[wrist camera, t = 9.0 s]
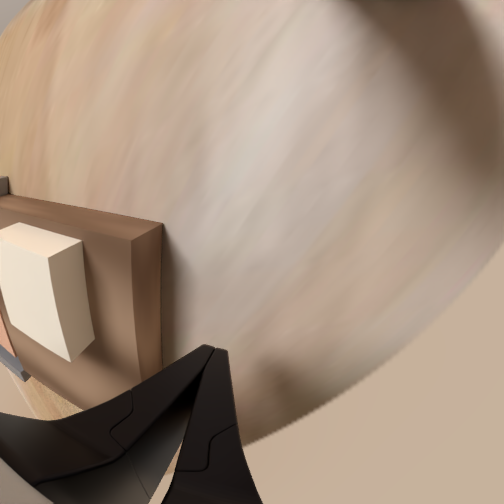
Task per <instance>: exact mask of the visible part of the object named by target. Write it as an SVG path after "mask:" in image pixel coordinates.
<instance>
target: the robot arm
mask: <svg viewBox="0 0 504 504" xmlns="http://www.w3.org/2000/svg"><path fill="white" fill-rule="evenodd" d="M237 424H238V423H237V416H236V409H235V402H234V395H233V388H232V380H231V373H230V365H229V357H228V351H227V350H225V349H221V348H215V347H213V346H210V345H206V344H203V345H201V346H200V347H198V348H197V349H195V350H193V351H192V352H190V353H189V354H187V355H185V356H184V357H182V358H181V359H179V360H177V361H176V362H174V363H173V364H171V365H169V366H168V367H166V368H164V369H163V370H161V371H159V372H158V373H156V374H154V375H153V376H151V377H149V378H148V379H146V380H144V381H143V382H141V383H139V384H138V385H136V386H134V387H132V388H131V390H130V389H129V390H127V391H125V392H124V393H122V394H120V395H118V396H116V397H114V398H112V399H110V400H108V401H106V402H104V403H102V404H99V405H97V406H95V407H92V408H90V409H87V410H84V411H82V412H79V413H77V414H74V415H71V416H68V417H66V418H62V419H58V420H51V421H46V420H38V419H32V418H26V417H20V416H15V415H10V414H5V413H1V412H0V504H148V503H149V502H150V499H151V497H152V496H153V494H154V492H155V491H156V489H157V487H158V485H159V483H160V481H161V479H162V478H163V476H164V474H165V472H166V470H167V468H168V466H169V465H170V463H171V461H172V459H173V457H174V455H175V453H176V451H177V450H178V448H179V446H180V444H181V442H182V440H183V442H182V446H181V449H180V453H179V456H178V460H177V464H176V467H175V472H174V475H173V479H172V482H171V484H170V487H169V489H168V491H167V493H166V495H165V497H164V499H163V501H162V503H161V504H263V503H262V501H261V498H260V496H259V494H258V492H257V489H256V487H255V484H254V481H253V479H252V476H251V473H250V470H249V468H248V465H247V462H246V459H245V456H244V452H243V449H242V445H241V440H240V435H239V428H238V425H237Z"/></svg>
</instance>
